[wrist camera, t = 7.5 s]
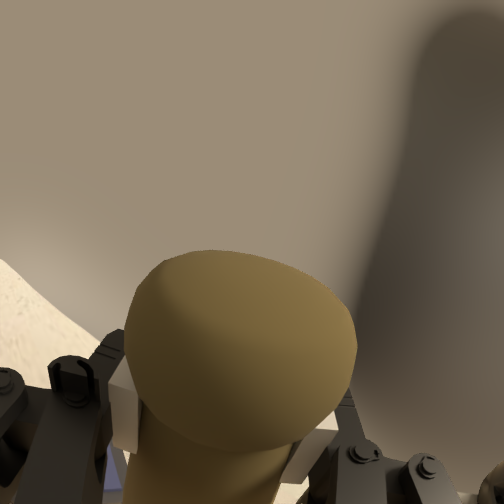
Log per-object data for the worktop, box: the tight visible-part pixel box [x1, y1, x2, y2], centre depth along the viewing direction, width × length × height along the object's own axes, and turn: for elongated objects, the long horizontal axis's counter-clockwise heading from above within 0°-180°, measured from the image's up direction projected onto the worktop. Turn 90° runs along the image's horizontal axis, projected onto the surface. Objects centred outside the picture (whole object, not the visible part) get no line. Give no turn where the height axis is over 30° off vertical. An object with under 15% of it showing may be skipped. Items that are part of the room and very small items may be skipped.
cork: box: [122, 250, 358, 504], centre depth 8 cm, size 6×6×11 cm
